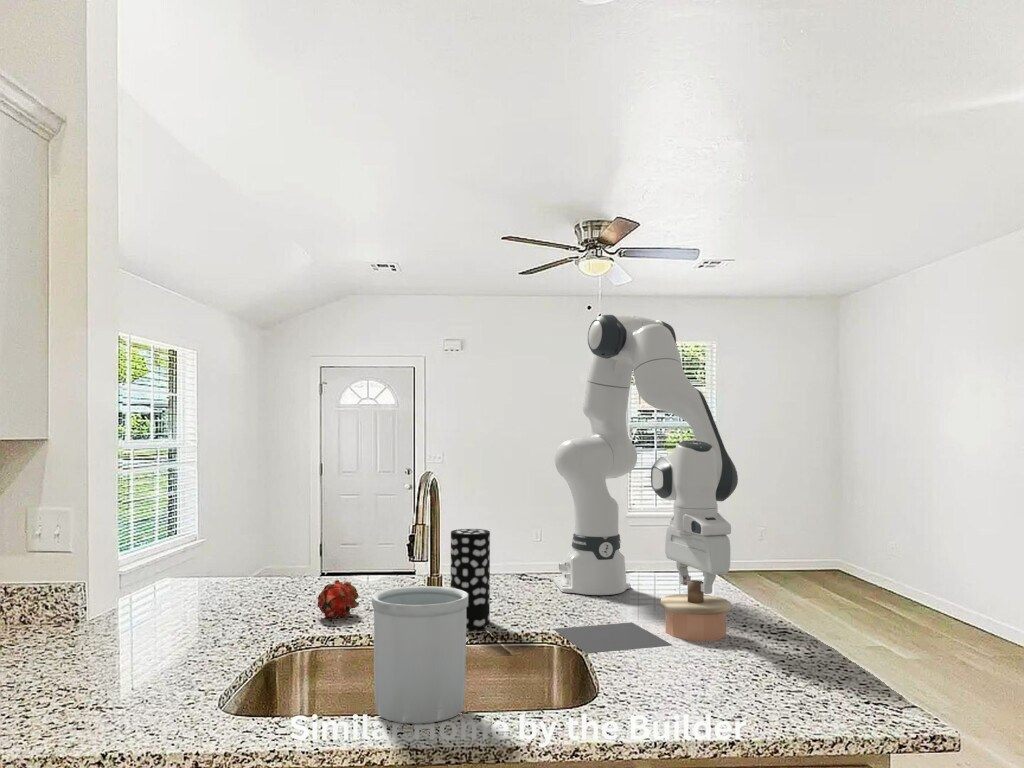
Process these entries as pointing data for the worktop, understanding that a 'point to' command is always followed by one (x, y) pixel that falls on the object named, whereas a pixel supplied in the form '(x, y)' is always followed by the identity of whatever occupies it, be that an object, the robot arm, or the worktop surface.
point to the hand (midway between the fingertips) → (695, 588)
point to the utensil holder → (419, 653)
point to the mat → (611, 637)
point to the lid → (695, 602)
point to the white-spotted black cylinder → (472, 573)
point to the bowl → (696, 626)
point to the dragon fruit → (337, 599)
